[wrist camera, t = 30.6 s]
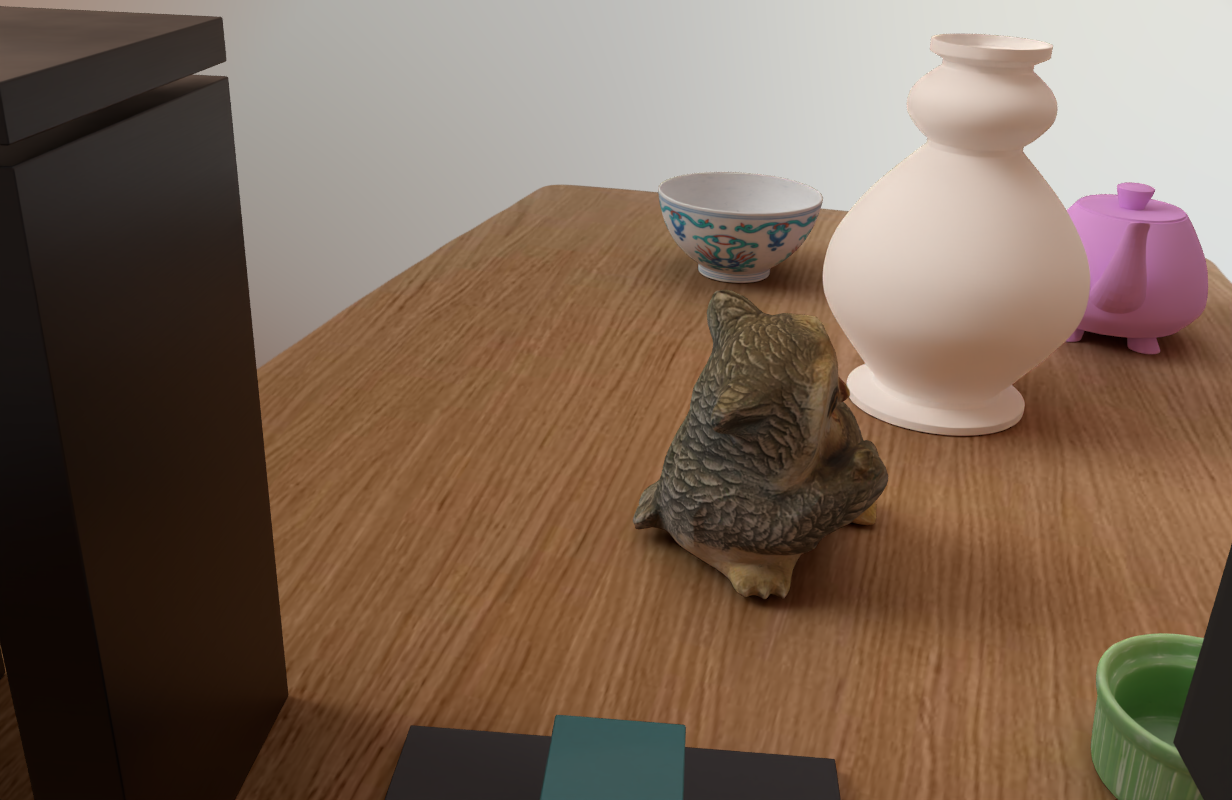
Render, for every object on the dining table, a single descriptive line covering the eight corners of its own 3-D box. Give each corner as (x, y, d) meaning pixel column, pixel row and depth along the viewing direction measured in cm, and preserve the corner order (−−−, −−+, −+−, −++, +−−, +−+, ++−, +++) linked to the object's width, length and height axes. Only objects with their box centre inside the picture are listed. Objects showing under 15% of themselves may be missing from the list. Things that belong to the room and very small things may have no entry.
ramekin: (1033, 762, 50) (1053, 678, 48) (1149, 687, 55) (1170, 609, 53) (1239, 900, 44) (1270, 810, 42) (1349, 801, 49) (1381, 717, 47)
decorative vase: (1112, 447, 79) (1203, 64, 68) (861, 459, 76) (916, 60, 65) (990, 348, 94) (1049, 26, 84) (779, 355, 91) (813, 21, 81)
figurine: (940, 622, 59) (991, 348, 53) (655, 633, 58) (673, 350, 51) (857, 488, 72) (890, 253, 66) (622, 493, 70) (633, 253, 64)
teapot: (1204, 392, 88) (1247, 231, 83) (1008, 360, 92) (1038, 205, 87) (1188, 310, 105) (1223, 172, 100) (1023, 286, 109) (1049, 153, 104)
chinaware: (761, 310, 101) (769, 223, 98) (622, 272, 109) (625, 191, 106) (842, 270, 112) (851, 191, 109) (710, 239, 120) (715, 164, 117)
